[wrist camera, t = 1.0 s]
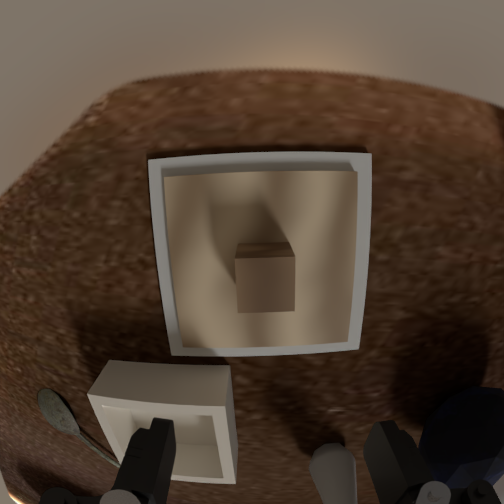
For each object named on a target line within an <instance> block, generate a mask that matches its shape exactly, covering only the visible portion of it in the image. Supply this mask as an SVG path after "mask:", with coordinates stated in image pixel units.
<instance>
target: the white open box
mask: <svg viewBox="0 0 504 504" xmlns="http://www.w3.org/2000/svg"><path fill="white" fill-rule="evenodd" d="M87 395H88V398H89V400H90V402H91V405H92V407H93V409H94V412H95V414H96V416H97V418H98V421H99V423H100V425H101V427H102V429H103V431H104V433H105V435H106V437H107V439H108V441H109V443H110V445H111V447H112V449H113V451H114V453H115V455H116V457H117V459H118V461H119V463H120V464H121V463H122V460H123V457H124V456H125V452H126V449H127V448H128V444H129V441H130V438H131V436H132V435H133V434H134V433H135V432H136V431H137V430H138V429H139V428H145V429H150V426H151V423H152V420H153V418H154V417H157V418H163V419H170V420H173V422H174V430H175V438H176V456H175V461H174V466H173V471H172V476H171V480H180V481H190V482H203V483H223V484H236V472H237V454H238V442H237V433H236V424H235V414H234V404H233V394H232V383H231V373H230V365H181V364H159V363H143V362H129V361H117V360H109V361H108V363H107V364H106V366H105V367H104V369H103V370H102V372H101V373H100V375H99V376H98V378H97V379H96V381H95V382H94V384H93V385H92V387H91V389H90V390H89V392H88V393H87Z"/></svg>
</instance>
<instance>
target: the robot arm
mask: <svg viewBox="0 0 504 504" xmlns="http://www.w3.org/2000/svg"><path fill="white" fill-rule="evenodd" d="M363 453H364V459H365V461H366V464H367V467H368V470H369V473H370V475H371V478H372V481H373V484H374V487H375V490H376V493H377V495H378V498H379V501H380V504H501V502H500V500H499V498H498V496H497V494H496V492H495V490H494V489H493V486H492V485H491V484H490V483H489V482H488V481H486V480H482V479H478V480H475V481H473V482H471V483H470V485H469V486H468V487H467V488H448V486H446V485H445V484H444V483H442V482H439V481H435V480H434V478H433V476H432V474H431V473H430V471H429V469H428V467H427V465H426V463H425V461H424V459H423V457H422V455H420V451H419V449H418V448H417V445H416V444H415V442H414V440H413V438H412V437H411V436H410V435H409V434H408V433H407V432H406V431H405V430H399V428H398V426H397V425H396V423H395V421H393V420H388V421H381V422H376V423H375V424H374V425H373V427H372V430H371V432H370V434H369V436H368V438H367V440H366V443H365V445H364V450H363ZM175 456H176V438H175V430H174V422H173V420H170V419H163V418H157V417H154V418H153V420H152V423H151V426H150V429H145V428H139V429H138V430H137V431H136V432H135V433H134V434H133V435H132V436H131V438H130V441H129V444H128V448H127V449H126V452H125V456H124V457H123V460H122V463H121V466H120V469H119V472H118V474H117V477H116V480H115V483H114V485H113V487H112V489H111V490H110V491H109V492H107V493H105V494H104V495H101V496H97V497H85V496H74V495H73V494H72V493H71V492H70V491H69V490H67V489H64V488H60V487H54V488H50V489H48V490H46V491H45V492H44V493H43V495H42V497H41V499H40V502H39V504H166V501H167V496H168V491H169V486H170V481H171V476H172V471H173V466H174V461H175Z"/></svg>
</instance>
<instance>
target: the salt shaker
mask: <svg viewBox="0 0 504 504" xmlns="http://www.w3.org/2000/svg"><path fill="white" fill-rule="evenodd" d="M309 471H310V474H311V476H312V478H313V481H314V483H315V485H316V487H317V490H318V492H319V494H320V496H321V499H322V501H323V503H324V504H357V486H356V466H355V459H354V456H353V454H352V453H351V452H350V451H349V450H347V449H346V448H345V447H343V446H342V445H341V444H340V443H328V444H324V445H322V446H321V447H319V448H318V449H316V450H315V451H314V453H313V456H312V459H311V462H310V465H309Z"/></svg>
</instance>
